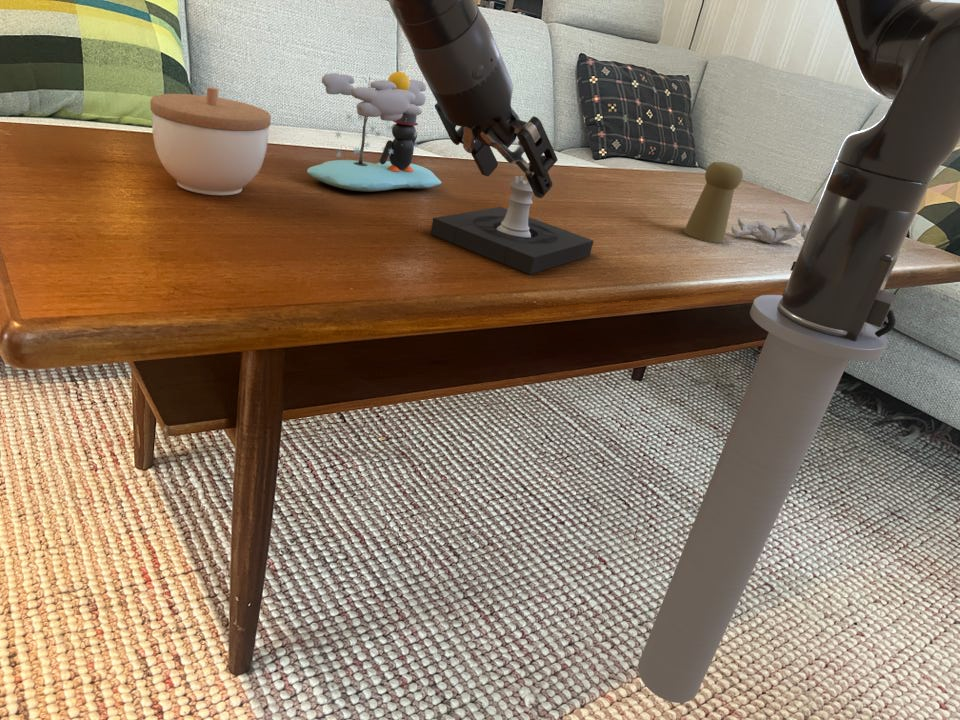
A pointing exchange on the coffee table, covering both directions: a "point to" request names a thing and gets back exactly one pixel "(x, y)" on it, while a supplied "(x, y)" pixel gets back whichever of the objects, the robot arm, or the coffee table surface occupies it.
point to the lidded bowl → (209, 141)
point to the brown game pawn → (714, 203)
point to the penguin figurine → (390, 105)
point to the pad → (512, 240)
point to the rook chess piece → (518, 209)
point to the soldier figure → (772, 230)
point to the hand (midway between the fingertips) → (516, 180)
